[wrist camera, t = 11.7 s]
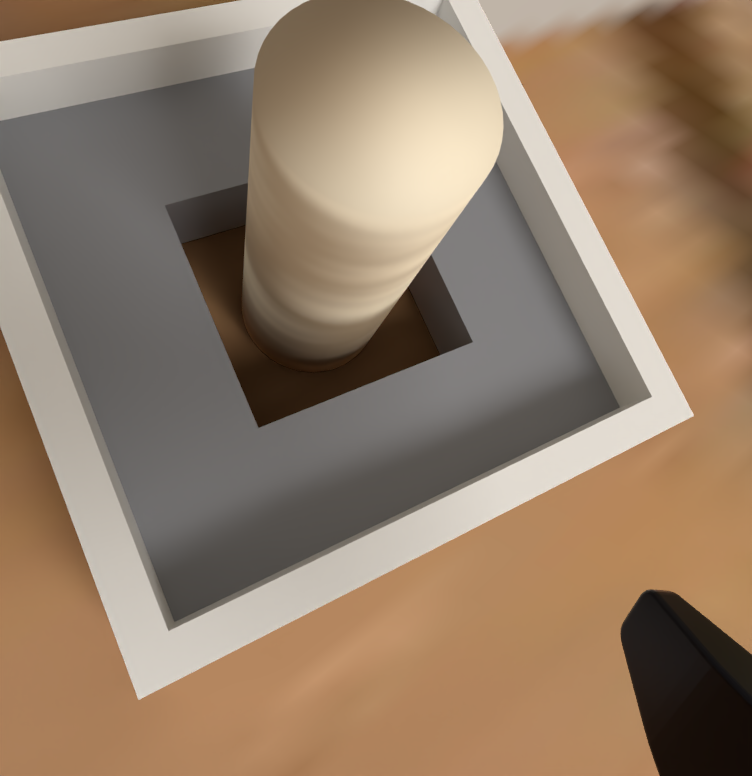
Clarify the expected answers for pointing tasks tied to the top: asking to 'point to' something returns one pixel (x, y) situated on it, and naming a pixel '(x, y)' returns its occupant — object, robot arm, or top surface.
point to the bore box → (216, 374)
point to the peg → (356, 169)
